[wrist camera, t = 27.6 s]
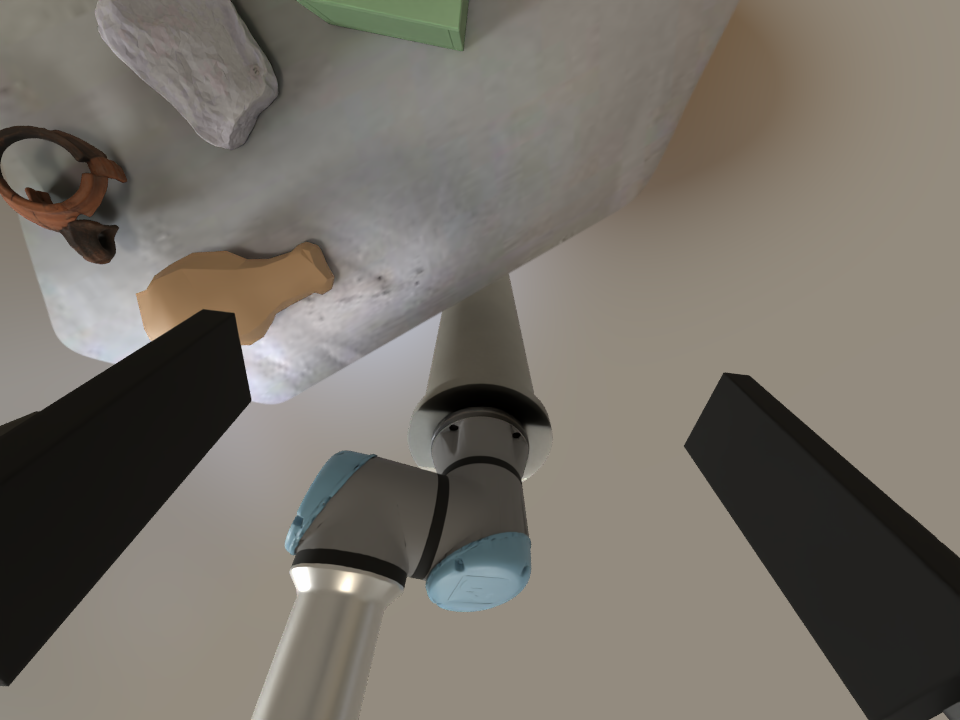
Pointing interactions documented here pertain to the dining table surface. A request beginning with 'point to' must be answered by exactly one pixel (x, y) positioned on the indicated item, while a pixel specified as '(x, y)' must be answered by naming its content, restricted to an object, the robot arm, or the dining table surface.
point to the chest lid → (409, 10)
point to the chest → (391, 25)
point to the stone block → (194, 61)
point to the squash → (233, 289)
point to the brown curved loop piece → (61, 217)
